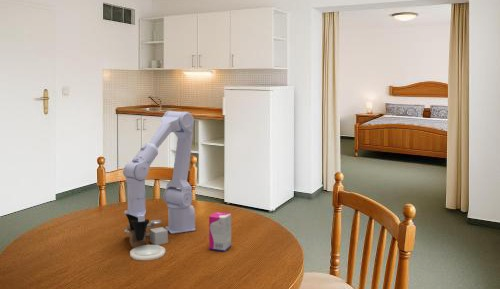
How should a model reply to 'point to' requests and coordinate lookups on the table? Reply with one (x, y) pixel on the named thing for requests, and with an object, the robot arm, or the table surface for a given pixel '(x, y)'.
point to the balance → (152, 223)
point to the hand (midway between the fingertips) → (137, 236)
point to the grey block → (158, 236)
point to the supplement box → (220, 231)
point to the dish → (147, 252)
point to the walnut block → (134, 242)
